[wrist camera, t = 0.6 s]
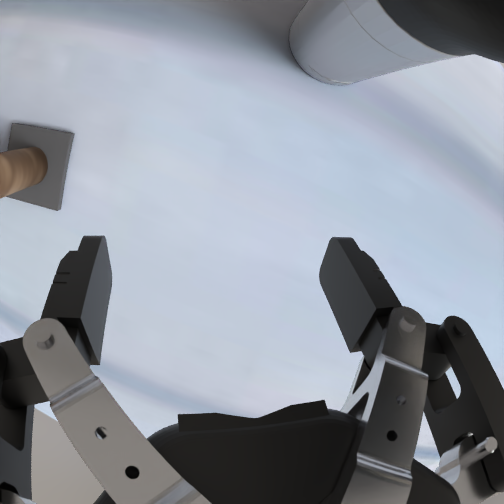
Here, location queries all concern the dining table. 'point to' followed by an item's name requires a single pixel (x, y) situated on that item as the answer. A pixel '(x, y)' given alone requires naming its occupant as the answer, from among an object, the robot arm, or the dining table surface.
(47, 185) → the pad
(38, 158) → the walnut peg
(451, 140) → the dining table surface
